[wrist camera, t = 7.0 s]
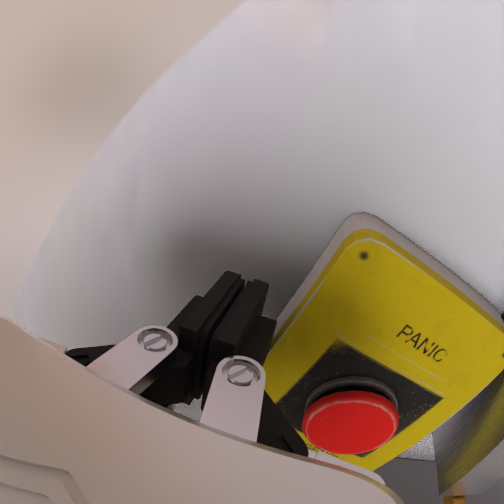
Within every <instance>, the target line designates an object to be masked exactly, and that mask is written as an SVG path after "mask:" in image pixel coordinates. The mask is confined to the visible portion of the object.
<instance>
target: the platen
mask: <svg viewBox="0 0 504 504" xmlns="http://www.w3.org/2000/svg"><path fill="white" fill-rule="evenodd" d="M503 322H504V319H503ZM432 436H433V443H434V450H435V458H436V467H437V478H438V490H439V496H443V499H444V504H466V503H465V495H477V494H483V493H484V492H485V491H487V490H488V489H489V488H490V487H492V486H493V485H494V484H495V483H497V482H498V481H499V480H500V479H502V478H503V477H504V369H503V370H502V371H501V372H500V374H499V375H498V376H497V377H496V378H495V379H494V380H492V381H491V382H490V383H489V384H488V385H487V386H486V387H485V388H484V389H483V390H482V391H481V392H480V393H479V394H478V395H477V396H475V397H474V398H473V399H472V400H471V401H470V402H469V403H468V404H466V405H465V406H464V407H463V408H462V409H461V410H459V411H458V412H457V413H456V414H455V415H453V416H452V417H451V418H450V419H448V420H447V421H446V422H445V423H443V424H442V425H441V426H439V427H438V428H437V429H436V430H434V431H433V432H432Z"/></svg>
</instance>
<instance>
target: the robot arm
mask: <svg viewBox="0 0 504 504" xmlns="http://www.w3.org/2000/svg"><path fill="white" fill-rule="evenodd" d="M244 284H245V280H243V279H241V275H240V274H236V273H233V272H230V271H226V272H225V273H224V274H223V275H222V276H221V278H220V279H219V280H218V281H217V282H216V283H215V285H214V286H213V287H212V288H211V289H210V290H209V292H208V293H207V294H206V295H205V296H204V297H201V296H198V295H197V296H195V297H194V298H193V299H192V300H191V301H190V302H189V303H188V304H187V305H186V306H185V308H184V309H183V310H182V311H181V312H180V313H179V314H178V315H177V316H176V318H175V319H174V320H173V321H172V322H171V323H170V324H169V325H168V326H167V327H166V328H165V327H163V326H157V325H149V326H145V327H142V328H140V329H138V330H137V331H135V332H134V333H132V334H131V335H130V336H128V337H127V338H125V339H124V340H123V341H121V342H120V343H118V344H116V345H107V346H97V347H87V348H77V349H72V350H69V351H67V347H64V346H61V345H58V344H55V343H53V342H50V341H47V340H45V339H42V338H39V337H37V336H36V335H34V334H33V333H31V332H29V331H28V330H26V329H25V328H23V327H21V326H20V325H18V324H17V323H15V322H13V321H11V320H9V319H7V318H5V317H2V316H0V504H404V502H403V500H402V499H401V498H400V497H399V496H398V495H397V494H396V493H395V492H394V491H392V490H391V489H390V488H388V487H387V486H385V483H384V480H383V479H382V478H381V477H380V476H379V475H378V474H376V473H374V472H372V471H370V470H367V469H364V468H361V467H359V466H356V465H354V464H351V463H348V462H346V461H343V460H341V459H338V458H336V457H334V456H331V455H329V454H326V453H324V452H322V451H320V450H319V451H318V453H316V452H314V451H311V450H309V449H308V447H307V445H306V443H305V442H304V440H303V439H302V438H301V437H300V435H299V434H298V433H297V431H296V430H295V429H294V428H293V426H292V425H291V424H290V423H289V421H288V420H287V419H286V417H285V416H284V415H283V414H282V412H281V411H280V410H279V408H278V407H277V406H276V404H275V403H274V402H273V400H272V399H271V398H270V396H269V395H268V394H267V392H266V391H265V390H264V387H265V379H266V374H265V371H264V369H263V365H264V362H265V359H266V357H267V354H268V351H269V348H270V345H271V342H272V339H273V336H274V332H275V329H276V325H277V321H276V320H272V319H269V318H266V317H263V316H261V315H262V311H263V307H264V303H265V298H266V294H267V290H268V286H269V283H266V282H263V281H260V280H256V279H254V281H253V282H250V281H248V282H247V284H246V285H245V287H244ZM202 393H203V396H202V404H201V410H202V415H201V419H200V422H198V421H195V420H193V419H190V418H188V417H186V416H183V415H181V414H178V413H176V412H174V411H173V409H174V408H175V404H177V403H181V402H183V403H185V404H188V405H190V404H191V402H192V400H193V399H194V398H196V399H199V398H200V397H201V395H202Z"/></svg>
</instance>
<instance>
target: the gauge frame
mask: <svg viewBox="0 0 504 504" xmlns="http://www.w3.org/2000/svg"><path fill="white" fill-rule="evenodd" d="M372 472H374V473H376V474H378V475H379V476H380V477H381V478H382V479H383V480H384V483H385V486H387V487H388V488H390V489H391V490H392V491H394V492H395V493H396V494H397V495H398V496H399V497H400V498H401V499H402V500H403V502H404V504H444V499H443V496H439V490H438V478H437V467H436V461H422V460H411V459H402V458H393V459H392V460H390V461H389V462H387V463H385V464H384V465H382V466H380V467H379V468H377V469H375V470H374V471H372ZM465 503H466V504H504V477H503V478H502V479H500V480H499V481H498V482H497V483H495V484H494V485H493V486H492V487H490V488H489V489H488V490H487V491H485V492H484V493H483V494H477V495H465Z"/></svg>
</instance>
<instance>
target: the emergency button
mask: <svg viewBox="0 0 504 504" xmlns="http://www.w3.org/2000/svg"><path fill="white" fill-rule="evenodd" d="M276 321H277V325H276V329H275V332H274V336H273V339H272V342H271V345H270V348H269V351H268V354H267V357H266V359H265V362H264V365H263V369H264V371H265V374H266V379H265V387H264V390H265V391H266V392H267V394H268V395H269V396H270V398H271V399H272V400H273V402H274V403H275V404H276V406H277V407H278V408H279V410H280V411H281V412H282V414H283V415H284V416H285V417H286V419H287V420H288V421H289V423H290V424H291V425H292V426H293V428H294V429H295V430H296V431H297V433H298V434H299V435H300V437H301V438H302V439H303V440H304V442H305V443H306V445H307V447H308V449H309V450H311V451H314V452H316V453H318V451H319V450H320V451H322V452H324V453H326V454H329V455H331V456H334V457H336V458H338V459H341V460H343V461H346V462H348V463H351V464H354V465H356V466H359V467H361V468H364V469H367V470H370V471H374V470H375V469H377V468H379V467H380V466H382V465H384V464H385V463H387V462H389V461H390V460H392V459H393V458H395V457H397V456H398V455H400V454H401V453H403V452H404V451H406V450H407V449H409V448H410V447H412V446H413V445H415V444H416V443H418V442H419V441H420V440H422V439H423V438H425V437H426V436H427V435H429V434H430V433H432V432H433V431H434V430H436V429H437V428H438V427H439V426H441V425H442V424H443V423H445V422H446V421H447V420H448V419H450V418H451V417H452V416H453V415H455V414H456V413H457V412H458V411H459V410H461V409H462V408H463V407H464V406H465V405H466V404H468V403H469V402H470V401H471V400H472V399H473V398H474V397H475V396H477V395H478V394H479V393H480V392H481V391H482V390H483V389H484V388H485V387H486V386H487V385H488V384H489V383H490V382H491V381H492V380H494V379H495V378H496V377H497V376H498V375H499V374H500V372H501V371H502V370H503V369H504V322H503V320H502V318H501V316H500V314H499V312H498V310H497V309H496V307H495V306H494V305H493V304H491V303H490V302H489V301H488V300H487V299H486V298H484V297H483V296H482V295H481V294H480V293H478V292H477V291H476V290H475V289H474V288H472V287H471V286H470V285H469V284H467V283H466V282H465V281H464V280H462V279H461V278H460V277H459V276H457V275H456V274H455V273H454V272H452V271H451V270H450V269H449V268H447V267H446V266H445V265H443V264H442V263H441V262H439V261H438V260H437V259H435V258H434V257H433V256H431V255H430V254H429V253H427V252H426V251H425V250H423V249H422V248H421V247H419V246H418V245H417V244H415V243H414V242H412V241H411V240H410V239H408V238H407V237H405V236H404V235H403V234H401V233H400V232H398V231H397V230H396V229H394V228H393V227H391V226H390V225H388V224H387V223H385V222H384V221H382V220H381V219H379V218H378V217H377V216H374V215H371V214H369V213H366V212H361V213H355V214H352V215H350V216H349V217H348V218H347V219H346V220H345V221H343V223H342V224H341V226H340V227H339V229H338V231H337V232H336V234H335V235H334V237H333V238H332V240H331V241H330V243H329V244H328V246H327V247H326V249H325V250H324V252H323V253H322V255H321V256H320V258H319V259H318V261H317V262H316V264H315V265H314V266H313V268H312V269H311V271H310V272H309V274H308V275H307V277H306V278H305V280H304V281H303V282H302V284H301V285H300V287H299V288H298V290H297V291H296V293H295V294H294V295H293V297H292V298H291V300H290V301H289V302H288V304H287V305H286V307H285V308H284V309H283V311H282V312H281V314H280V315H279V316H278V318H277V319H276Z"/></svg>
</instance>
